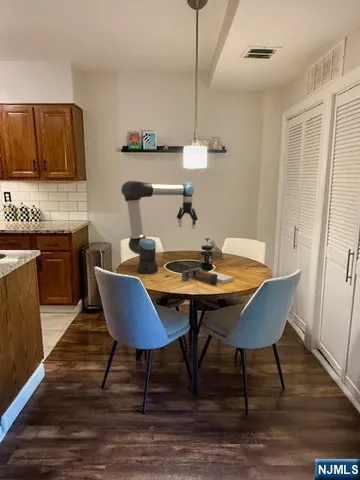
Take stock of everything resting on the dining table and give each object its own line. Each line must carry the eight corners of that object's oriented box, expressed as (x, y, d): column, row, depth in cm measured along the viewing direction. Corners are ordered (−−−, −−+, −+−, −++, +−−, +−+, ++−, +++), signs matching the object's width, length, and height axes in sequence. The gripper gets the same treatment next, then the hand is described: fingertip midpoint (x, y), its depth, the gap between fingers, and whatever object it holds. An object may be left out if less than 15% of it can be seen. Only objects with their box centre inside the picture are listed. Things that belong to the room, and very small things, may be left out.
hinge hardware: (188, 282, 211) (188, 271, 209) (181, 279, 216) (181, 269, 214) (205, 277, 221) (205, 267, 220) (198, 275, 226) (198, 265, 225)
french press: (211, 266, 251) (212, 237, 247) (214, 269, 242) (215, 239, 238) (197, 266, 249) (197, 237, 245) (199, 270, 240) (200, 239, 236)
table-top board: (222, 284, 208) (222, 280, 208) (201, 277, 222) (202, 273, 222) (233, 280, 215) (233, 277, 215) (212, 274, 229) (213, 271, 229)
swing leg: (212, 285, 205) (213, 275, 204) (195, 279, 217) (195, 270, 216) (216, 283, 208) (217, 274, 206) (199, 277, 220) (199, 269, 219)
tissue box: (205, 255, 288) (206, 238, 285) (216, 255, 290) (216, 238, 287) (210, 260, 270) (211, 242, 267) (221, 260, 271) (222, 242, 268)
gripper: (202, 202, 256) (201, 229, 259) (178, 200, 271) (178, 225, 275) (196, 202, 250) (195, 230, 254) (172, 201, 266) (172, 226, 269)
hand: (186, 227), depth 264 cm, fingers open, 13 cm apart
